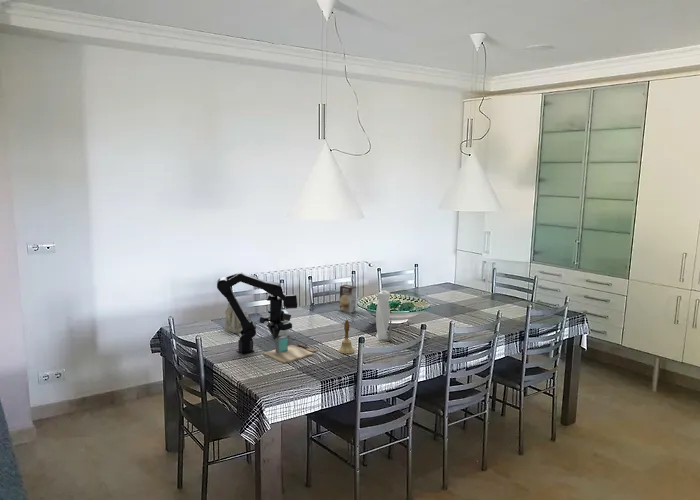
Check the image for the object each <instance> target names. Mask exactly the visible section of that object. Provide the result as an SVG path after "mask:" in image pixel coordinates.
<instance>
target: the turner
mask: <svg viewBox="0 0 700 500" xmlns="http://www.w3.org/2000/svg"><path fill="white" fill-rule="evenodd" d="M297 345H298V346H299V347H300V348H301V347H302V348H303V349H305V350H307V351H309V352H312V353H316V352H318V349H316V348H313V347H309V346H306V345H304V344H301V343H298V344H297Z"/></svg>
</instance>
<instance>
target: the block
mask: <svg viewBox="0 0 700 500" xmlns="http://www.w3.org/2000/svg"><path fill="white" fill-rule="evenodd" d="M288 346H289V337H288V336H278V337H277V338H276V340H275V349H276V351H275V352H276V353H281V352H284V351H287V350H288Z"/></svg>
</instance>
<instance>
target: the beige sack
mask: <svg viewBox="0 0 700 500" xmlns="http://www.w3.org/2000/svg"><path fill="white" fill-rule="evenodd" d="M244 313H245V315H246V317H247V318H248V319H249V314H248V312H247V311H244ZM224 314H225V318H224V319H225V320H224V321H225V322H224V326H223V329H224V331H227V332H230V333H233V334H239V333H240V332H241V331H242V330H243V329H242V326H241V323H240V321H239V319H238V317H237V316H236V314H235V312H234V311H233V309H232V307H231V305H230V304H229V302H228V303H227V309H226V310H225V312H224Z"/></svg>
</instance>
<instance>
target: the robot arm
mask: <svg viewBox="0 0 700 500" xmlns="http://www.w3.org/2000/svg"><path fill="white" fill-rule="evenodd" d="M238 283H243V284H245V285H249V286H252V287H255V288H258V289H261V290H263V291H265V292H266V293H268V296H267V297H266V298H265V300H266V301H267V302H268V301H269V310H268V311H267V313H268V314H269V315H268V314H267V315H262V316H260V318H259V323H260V324H264V323H267V324H266V327H267V328H268V330H269V332H270V333H271V336H272V338H273V340H275V341H276V338H279V336H278V335H279V332H280V330H288V331H289V330H291V329H293V323H292V322H291V317H292V314H290V313H289V314H286V313H284V311H283V310H287V309H291V310H292V309H297V308H298V300H297V298H298V297H297V294H295V293H294V294H286V293H285V292H284V291H283V287H282V285H281V284H280V283H279V282H275V281H266V280H263V279H260V278H257V277H254V276H251V275H248V274H246V273H243V272H241V271H239V272H236V273H234V274H231V275H228V276H225V277H223V276H222V277H220V278H218V280H217V281H216V288H217V290H218V291H219V293H221V295H222V296H223V297H224V298H225V299H226V301H227V302H228V303H229V304H230V305H231V307H232V309H233V311H234V312H235V314H236V316H237V317H238V319H239V321H240V323H241V326H242V329H243V330H242V331H241V332H240V333H238V334H239V339H238V340H237V341H238V345H237V346H238V347H237V348H238V349H235V350H236V352H238V353H239V354H242V355H246V354H250V353H253V352H255V349H254V339H253V338H254V337H255V336H256V334H257V330H256V329H257V325H256V323H254V320H253V318H252V317H251V318H249V317H248V318H247V317H246V315H245V313H244V312H245V311H244V310H243V308H242V307H241V304H240V302H239V301H238V300H237V298H236V296H235V293H234V291H233V288H232V287H234V286H235V285H236V284H238ZM282 308H284V309H282ZM284 320H288V321H289V322H287V321H286V322H281V321H284Z"/></svg>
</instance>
